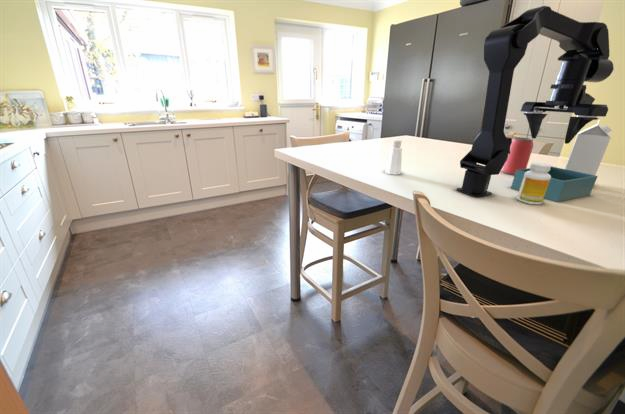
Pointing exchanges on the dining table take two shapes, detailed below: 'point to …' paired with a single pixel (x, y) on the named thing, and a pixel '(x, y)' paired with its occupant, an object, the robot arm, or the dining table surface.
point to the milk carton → (589, 149)
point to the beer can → (518, 155)
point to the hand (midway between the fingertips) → (549, 140)
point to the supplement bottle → (535, 184)
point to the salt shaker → (394, 159)
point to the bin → (562, 183)
